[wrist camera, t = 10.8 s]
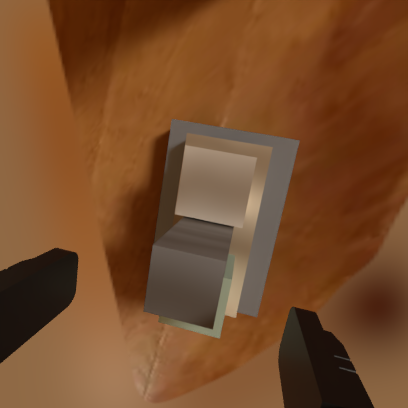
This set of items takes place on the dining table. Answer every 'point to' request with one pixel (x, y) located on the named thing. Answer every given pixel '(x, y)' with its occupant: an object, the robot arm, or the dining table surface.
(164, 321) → the green block
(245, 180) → the cream block
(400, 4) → the dining table surface
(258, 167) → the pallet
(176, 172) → the dock
